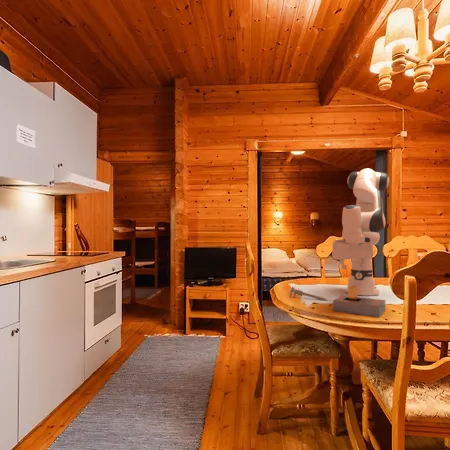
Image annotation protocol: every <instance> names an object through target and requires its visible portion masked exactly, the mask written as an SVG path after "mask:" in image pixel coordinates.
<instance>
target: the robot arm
mask: <svg viewBox="0 0 450 450" xmlns="http://www.w3.org/2000/svg"><path fill="white" fill-rule="evenodd" d="M389 184H390V177H389V175H388V173H386V172H379V171H375V170H374V169H372V168H368V167H367V168H363V169H361V170H360V171H352V172H351V173H350V174H349V175H348V177H347V185H348V188H349V189H350V190H353V191H352V192H353V195H354V196H355V198H356V201H355V202H356V203H355V204H349V205H345V206H344V207H343V208H342V215H341V216H342V217H341V223H342V233H341V234H342V235H341V236H342V238H341V239H335V240H333V242H332V252H331V257H332V259H334V260H336V261H339V263H340V265H341V270H347V266H348V265H347V264H345V260H351V268H350V276H349V277H348V279H347V287H348V286H357V296H379V295H380V290H379V289H377V286H376V282H375V279H374V277H373V274H374V273H373V269H372V265H373V264H372V261H373V260H372V259H373V257H374V248H373V247H374V246H375V245H377V244H378V243H379V241H380V239H381V238H380V237H381V236H380V232H382V231H383V230H384V229H385V228H386V223H387V222H386V217H385V215H384V214H385V211H384V203H383V196H382V192H385V190H387V188H388V187H389ZM344 291H345V293H348V288H347V289H345V290H344Z"/></svg>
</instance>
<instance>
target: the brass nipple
mask: <svg viewBox="0 0 450 450" xmlns="http://www.w3.org/2000/svg"><path fill="white" fill-rule="evenodd" d="M347 289H348V292H347V296H348V300H349V301H357V297H358V295H357V286H348V285H347Z"/></svg>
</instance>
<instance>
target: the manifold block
mask: <svg viewBox="0 0 450 450" xmlns="http://www.w3.org/2000/svg"><path fill="white" fill-rule="evenodd" d="M332 312H338V313H346V314H353V315H359V316H360V315H361V316H366V315H367V316H369V317H373V318H374V317H375V318H380V317H382V315H383V314H384V313H385V312H386V299H377V298H370V297H360V296H357V301H349V300H348V295H343V294H342V295H340V296H338V297H336V298H334V299H332Z"/></svg>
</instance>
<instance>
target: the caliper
mask: <svg viewBox="0 0 450 450" xmlns="http://www.w3.org/2000/svg"><path fill="white" fill-rule="evenodd" d="M292 294H293V295H292ZM297 295H298V296H300V297H303V296H305V297H309V298H313V299H316V300H319V301H328V299H327V298H326V297H323V296H319V295H315V294H311V293H308V292H304V291H303V290H300V289H296V286H295V287H294V286H292V287H291V288H290V290H289V298H295V297H296V296H297Z"/></svg>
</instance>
